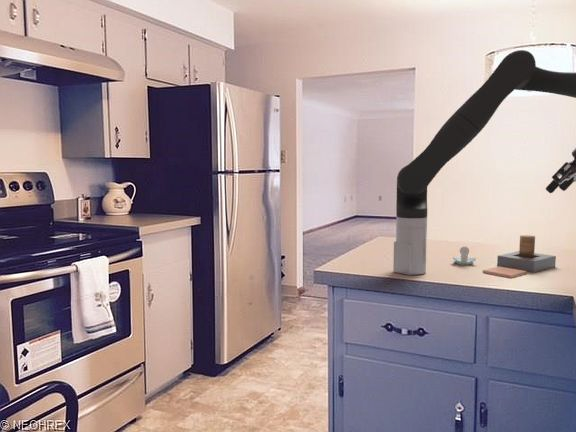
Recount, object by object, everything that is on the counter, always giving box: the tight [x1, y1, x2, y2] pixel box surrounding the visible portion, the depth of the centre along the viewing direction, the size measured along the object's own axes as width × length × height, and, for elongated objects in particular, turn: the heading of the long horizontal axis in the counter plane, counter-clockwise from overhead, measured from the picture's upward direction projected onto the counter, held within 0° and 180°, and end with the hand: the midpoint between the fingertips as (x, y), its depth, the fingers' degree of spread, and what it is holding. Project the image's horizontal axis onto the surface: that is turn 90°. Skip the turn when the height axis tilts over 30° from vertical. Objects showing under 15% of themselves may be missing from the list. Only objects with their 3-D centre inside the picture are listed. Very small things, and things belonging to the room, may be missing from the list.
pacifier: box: [452, 245, 477, 266], centre depth 164 cm, size 7×6×6 cm
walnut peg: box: [518, 234, 536, 258], centre depth 159 cm, size 4×4×10 cm
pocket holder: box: [496, 250, 557, 273], centre depth 159 cm, size 14×12×4 cm
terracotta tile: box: [482, 266, 528, 279], centre depth 150 cm, size 9×9×1 cm
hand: (554, 190), depth 148 cm, fingers open, 8 cm apart
